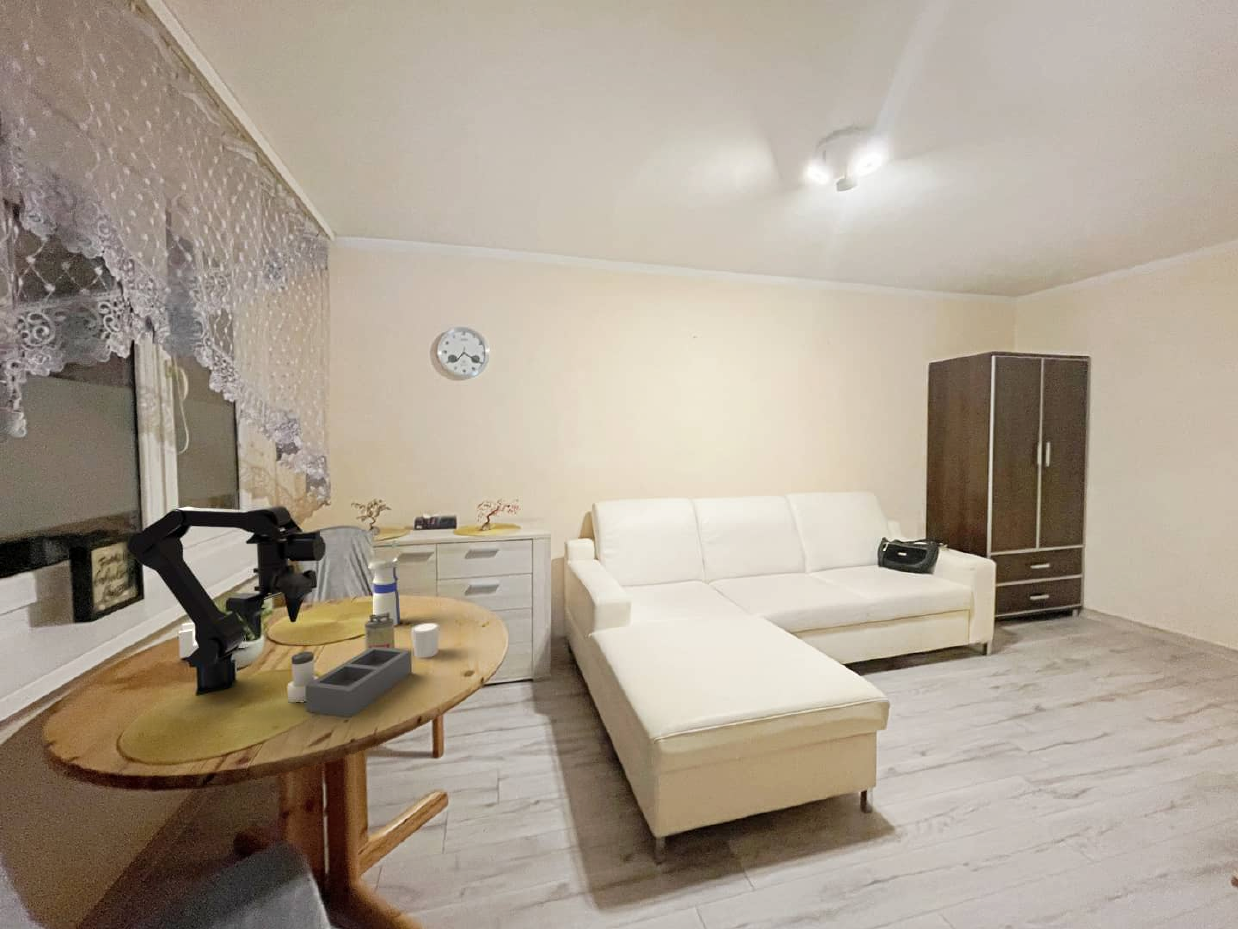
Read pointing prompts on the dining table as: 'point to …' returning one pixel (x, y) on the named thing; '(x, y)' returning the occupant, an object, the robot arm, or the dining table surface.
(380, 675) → the compartment tray
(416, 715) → the dining table surface
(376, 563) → the white spray bottle
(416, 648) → the shot glass
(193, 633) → the bracket
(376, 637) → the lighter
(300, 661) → the plug
